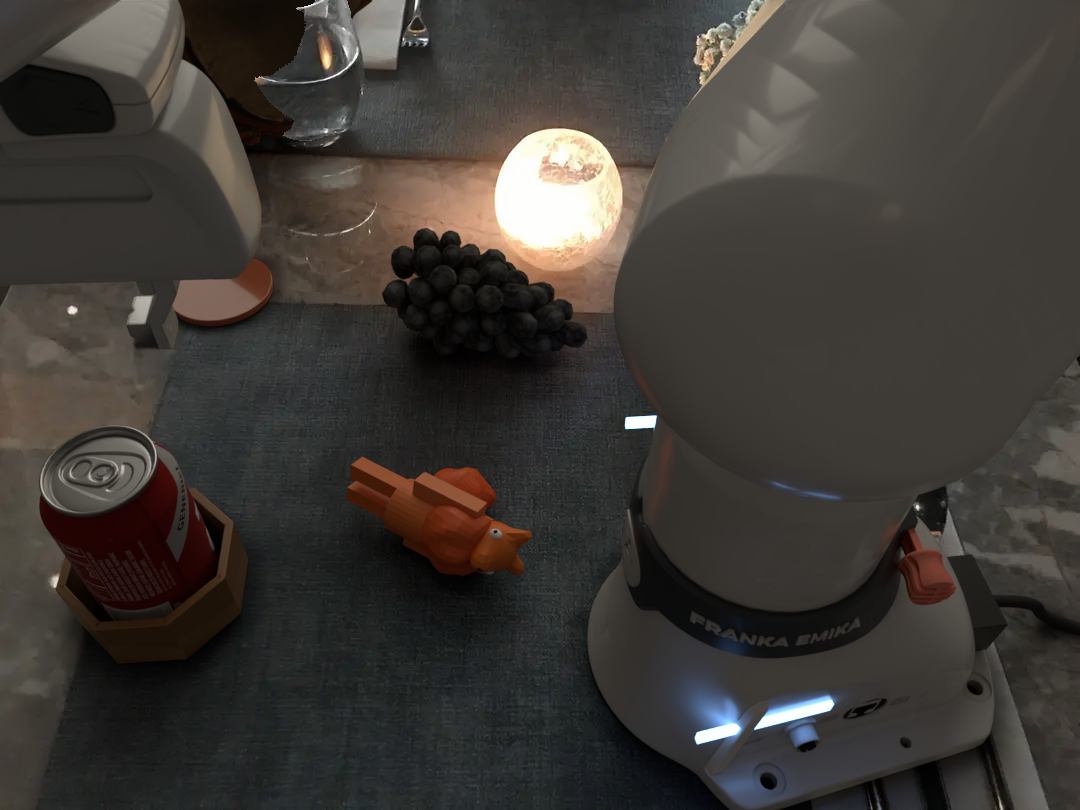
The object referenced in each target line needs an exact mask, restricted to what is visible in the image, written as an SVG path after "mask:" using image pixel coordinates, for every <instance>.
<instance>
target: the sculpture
mask: <svg viewBox="0 0 1080 810" xmlns="http://www.w3.org/2000/svg"><path fill="white" fill-rule="evenodd" d="M178 1H179V4H180V6H181V9H182V13H183V17H184V23H185V41H184V50H183V56H182V59H183V60H185V61H187V62H189V63H190V64H192V65H194V66H195V67H196V68H198V69H199V70H200V71H202V72H203V73H204V74H205V75H206V76H207V77H208V78H209V79H210V80H211V82H212V83H213V84H214V85H215V87H216V88H217V90H218V91H219V93H220V94H221V96H222V98H223V99H224V101H225V103H226V105H227V107H228V110H229V112H230V114H231V117H232V119H233V121H234V124H235V126H236V129H237V131H238V133H239V136H240V139H241V140H244V143H245V145H248V146H251V147H253V146H254V145H256V144H257V143H259V142H260V139H261V135H267V136H275V137H284V136H283V135H284V132H286V131H288V130H290V129H291V128H292V127H291V126H292V124H293V122H294V120H293V119H292V118H290V117H287V115H286V116H284V115H285V114H282V112H281V111H279V110H278V109H277V108H275V107H274V106H273V105H271V103H269V101H268V100H267V99H266V97H265V96H264V95H263V92H261V90H260V89H259V87H258V86H257V83H256V82H255V81H254V80H255V77H256V78H258V77H259V76H260V77H261V76H271V75H273V74H274V73H275V72H276V71H278V70H279V68H280V69H281V68H282V67H284V66H285V64H286V65H288V63H291V61H293V60H294V56H296V55H297V50H298V47H299V46H300V45H299V44H300V43H301V39H302V37H303V35H304V32H305V31H304V30H305V28H304V27H305V26H306V24H304V23H306V22H305V21H304V13H303V12H302V11H299V10H297V9H296V8H297V7H304V6H308V5H311V4H313V3H314V2H315V0H178ZM347 1H348V5H349V8H350V11H351V18H352V20H354V18H355V16H356V14H358V13H359V12H361V11H362V10H363V9H364V8H366V7H367V6H369V5H370V4H371V3H372V2H373V0H347Z"/></svg>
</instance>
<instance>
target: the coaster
mask: <svg viewBox="0 0 1080 810" xmlns="http://www.w3.org/2000/svg"><path fill="white" fill-rule="evenodd" d="M273 291H274V279H273V275H272V273H271V270H270V269H269V267H268V266H267V265H266V263H264V262H263V261H262V260H260V259H258V258H256V257H254V258H253V259H252V261H251V262H250V264H249V265H248V267H247V268H246V269H245V270H244V272H243V273H242V274H241V275H240V276H238V277H236V278H233V279H219V280H180V284H179V288H178V292H177V296H176V298H175V300H174V303H173V308H174V311H175V313H176V316H177V318H179V319H180V320H181V321H184V322H185V323H188V324H191V325H195V326H199V327H222V326H228V325H232V324H236V323H237V322H242V321H244V320H246V319H248V318H250V317H252V316H253V315H255V314H256V313H257V312H259V311H260V310H261V309H262V308H264V306H265V305H266V304H267V303H268V301H270V298H271V297H272V294H273Z"/></svg>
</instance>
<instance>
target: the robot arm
mask: <svg viewBox="0 0 1080 810" xmlns="http://www.w3.org/2000/svg"><path fill="white" fill-rule="evenodd" d="M184 41H185V23H184V17H183V13H182V9H181V6H180V4H179V1H178V0H0V286H23V285H24V286H25V285H28V286H29V285H61V284H93V283H94V284H96V283H97V284H98V283H100V284H101V283H133V282H134V283H136V285H137V288H138V290H139V293H140V294H141V295H135V296H134V297H133V300H132V303H131V309H132V310H131V312H130V313H128V317H127V320H126V322H125V323H126V324H125V326H126V328H127V331H128V333H129V336H130V337H131V338H133V339H134V341H133V345H134V347H135V349H136V350H140V351H141V350H172V349H174V348H175V346H176V341H177V338H178V333H179V319H178V317H177V316H176V313H175V311H174V308H173V303H174V300H175V298H176V296H177V292H178V288H179V284H180V280H219V279H233V278H236V277H238V276H240V275H241V274H242V273H243V272H244V270H245V269H246V268H247V267H248V265H249V264H250V262H251V261H252V259H253V258H255V255H256V253H257V249H258V245H259V241H260V233H261V229H262V205H261V200H260V195H259V191H258V188H257V184H256V180H255V176H254V173H253V170H252V167H251V164H250V161H249V158H248V156H247V153H246V150H245V147H244V144H243V142H242V139H240V136H239V133H238V131H237V129H236V126H235V124H234V121H233V119H232V117H231V114H230V112H229V110H228V107H227V105H226V103H225V101H224V99H223V98H222V96H221V94H220V93H219V91H218V90H217V88H216V87H215V85H214V84H213V83H212V82H211V80H210V79H209V78H208V77H207V76H206V75H205V74H204V73H203V72H202V71H200V70H199V69H198V68H196V67H195V66H194V65H192V64H190V63H189V62H187V61H185V60H183V59H182V56H183V50H184ZM613 291H614V292H613V320H614V328H615V329H614V330H615V333H616V338H617V341H618V345H619V350H620V351H621V355H622V357H623V360H624V362H625V365H626V367H627V369H628V372H629V373H630V375H631V377H632V378H633V380H634V382H635V384H636V385H637V387H638V389H639V390H640V392H641V393H642V395H643V396H644V398H645V399H646V401H647V402H648V403H649V404H650V405H649V406H651V408H652V409H653V410H654V411H655V413H656V415H645V416H627V417H625V423H624V427H625V429H626V430H629V429H631V430H632V429H644V428H645V429H648V428H653V431H652V437H651V443H650V448H649V449H648V451H647V452H646V455H645V456H644V457H643V459H642V461H641V463H640V465H639V468H638V470H637V473H636V478H635V482H634V486H633V490H632V494H631V498H630V501H629V507H628V508H627V509H626V512H625V518H624V522H623V523H624V524H623V531H622V537H621V538H622V540H621V559H620V560H619V563H618V565H617V566H616V568H614V570H613V571H612V572H611V573H610V574H609V575H608V576H607V578H605V581H604V582H603V583H602V585H601V586H600V588H599V590H598V591H597V594H596V596H595V597H594V601H593V603H592V606H591V608H590V609H591V610H590V613H589V617H588V623H587V632H586V646H587V653H588V660H589V664H590V668H591V672H592V675H593V678H594V680H595V683H596V685H597V687H598V689H599V692H600V693H601V695H602V697H603V700H605V702H606V704H607V705H608V707H609V708H610V710H611V711H612V713H613V714H614V715H615V716H616V717H617V719H618V720H619V721H620V722H621V724H622V725H624V727H625V728H626V729H627V730H628V731H630V732H631V733H632V735H634V736H635V737H636V738H637V739H639V740H640V741H641V742H643V744H645V745H646V746H648V747H649V748H651V749H653V750H654V751H656V752H657V753H659V754H661V755H662V756H665V757H666V758H668V759H670V760H672V761H674V762H675V763H678V764H679V765H682V766H683V767H685V768H686V769H688V770H690V771H691V772H693V774H695V775H697V776H698V778H699V779H700V780H701V781H702V782H703V783H704V785H705V786H706V787H707V789H708V790H709V791H710V792H711V793H712V794H713V795H714V796H715V797H716V798H717V799H718V800H719V801H720V802H721V803H722V804H723V805H724V806H725V807H726V809H728V810H782V809H785V808H788V807H792V806H795V805H798V804H800V803H804V802H808V801H810V800H813V799H818V798H820V797H823V796H827V795H830V794H833V793H836V792H839V791H842V790H846V789H849V788H852V787H855V786H858V785H861V784H864V783H867V782H871V781H874V780H877V779H880V778H883V777H887V776H891V775H894V774H897V773H900V772H903V771H906V770H910V769H912V768H915V767H919V766H922V765H925V764H929V763H931V762H934V761H938V760H941V759H944V758H947V757H951V756H955V755H957V754H961V753H963V752H966V751H969V750H973V749H975V748H977V747H979V746H981V745H983V744H984V743H985V742H986V740H987V738H988V737H989V736H990V734H991V731H992V727H993V724H994V716H995V689H994V682H993V676H992V672H991V667H990V664H989V660H988V659H989V658H988V656H987V653H986V651H987V650H988V648H989V647H991V646H992V644H993V643H994V642H995V640H997V638H998V637H999V636H1000V635H1001V633H1002V632H1003V631H1004V630H1005V629H1006V628H1007V626H1008V625H1009V624H1008V622H1007V620H1006V619H1005V616H1004V614H1003V613H1002V609H1001V608H1010V609H1011V608H1013V609H1022V610H1028V611H1030V612H1032V614H1033V616H1034V617H1035V618H1037V619H1038V620H1039V621H1041V622H1043V623H1046V624H1048V625H1051V626H1053V627H1056V628H1058V629H1061V630H1063V631H1067V632H1070V633H1074V634H1077V635H1080V622H1078V621H1076V620H1074V619H1070V618H1068V617H1065V616H1062V615H1060V614H1057V613H1054V612H1053V611H1050V610H1047V608H1045V606H1044V605H1045V604H1043V603H1042V602H1041V601H1040V600H1038V599H1037V598H1032V597H1029V596H1026V595H1017V594H1016V595H1015V594H993V593H992V590H991V589H990V587H989V585H988V583H987V581H986V579H985V577H984V575H983V573H982V571H981V569H980V567H979V565H978V563H977V561H976V560H975V557H974V556H973V554H972V553H971V554H970V553H969V554H960V555H952V556H951V555H950V556H947V555H946V553H945V551H944V550H943V548H942V546H941V544H940V543H939V542H938V540H937V539H936V537H935V535H934V534H933V532H932V531H931V530H930V529H929V527H928V526H927V525H926V523H925V522H924V521H923V520H922V519H921V518H920V517H919V516H918V515H917V513H916V512H915V508H914V506H913V505H914V503H915V502H916V500H917V498H918V496H919V495H921V494H925V493H929V492H932V491H935V490H938V489H940V488H943V487H945V486H948V485H951V484H952V483H955V482H957V481H959V480H961V479H963V478H965V477H967V476H968V475H971V474H972V473H973V472H975V471H976V470H978V469H979V468H981V467H982V466H983V465H985V464H986V463H987V462H988V461H990V460H991V459H992V458H993V457H994V456H995V455H997V453H999V452H1000V451H1001V450H1002V449H1003V447H1004V446H1005V445H1006V444H1007V443H1008V442H1009V441H1010V439H1011V438H1012V437H1013V435H1014V434H1015V433H1016V432H1017V431H1018V429H1019V428H1020V427H1021V425H1022V424H1023V423H1024V421H1025V420H1026V419H1027V418H1028V417H1029V415H1030V414H1031V412H1032V411H1033V410H1034V408H1035V407H1036V406H1037V405H1038V403H1039V402H1040V401H1041V400H1042V399H1043V397H1044V396H1045V395H1046V394H1047V393H1048V392H1049V391H1050V389H1051V388H1052V387H1053V386H1054V385H1055V384H1056V383H1057V381H1058V380H1059V379H1060V378H1061V377H1062V376H1063V375H1064V373H1065V372H1067V370H1069V368H1070V367H1071V366H1072V364H1073V363H1074V362H1075V361H1076V360H1077V359H1078V358H1079V357H1080V0H765V1H764V3H763V4H762V6H760V8H759V9H758V10H757V12H756V13H755V15H754V17H753V18H752V19H751V20H750V22H749V23H748V25H747V26H746V27H745V28H744V30H743V31H742V33H741V34H740V35H739V36H738V38H736V40H735V42H734V43H733V44H732V46H731V47H730V48H729V50H728V51H727V52H726V54H724V57H723V58H722V59H721V60H720V62H719V63H718V64H717V66H716V67H715V68H714V70H713V71H712V72H711V74H710V75H709V76H708V77H707V78H706V80H705V81H704V83H703V84H702V85H701V87H700V88H699V90H698V91H697V92H696V94H695V95H694V96H693V97H692V99H691V100H690V101H689V103H688V105H686V106H685V108H684V109H683V111H682V112H681V113H680V115H679V117H678V118H677V119H676V121H675V122H674V124H673V126H672V128H671V129H670V130H669V133H668V135H667V137H666V138H665V140H664V142H663V144H662V146H661V148H660V151H659V155H658V156H657V160H656V161H655V163H654V166H653V169H652V172H651V173H650V176H649V179H648V180H647V183H646V185H645V189H644V191H643V194H642V197H641V200H640V202H639V205H638V208H637V211H636V214H635V217H634V220H633V224H632V227H631V230H630V232H629V235H628V239H627V242H626V246H625V249H624V252H623V255H622V258H621V261H620V265H619V268H618V272H617V276H616V279H615V286H614V290H613ZM968 686H969V687H971V688H973V689H974V690H975V691H976V692H977V694H974V693H972V692H971V691H970V690H969V688H968ZM761 778H766V779H769V780H770V781H771V782H772V784H773V788H772V789H768V788H765V787H764V785H763V784H762V783H761Z"/></svg>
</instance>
